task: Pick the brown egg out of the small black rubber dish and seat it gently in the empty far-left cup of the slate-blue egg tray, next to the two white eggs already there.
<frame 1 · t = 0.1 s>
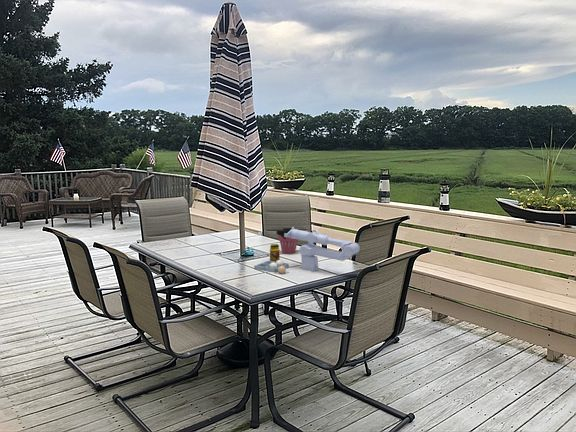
hand: (280, 231, 288), 22 cm above the table, tool horizontal, fingers open, 7 cm apart
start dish: (281, 274, 271), on the table
egg tray: (271, 269, 282), on the table
white egg left: (273, 270, 277), point 1 cm above the table, touching egg tray
brown egg: (281, 273, 271), resting on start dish
condiment: (273, 263, 297), on the table
plant pot: (288, 252, 326), on the table
white egg near: (279, 267, 283), point 1 cm above the table, touching egg tray
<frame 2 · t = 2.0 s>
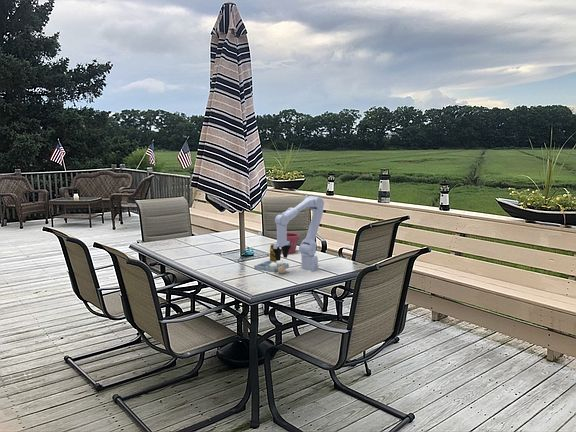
hand: (281, 259, 270), 9 cm above the table, tool pointing down, fingers open, 7 cm apart
nothing on the table moved.
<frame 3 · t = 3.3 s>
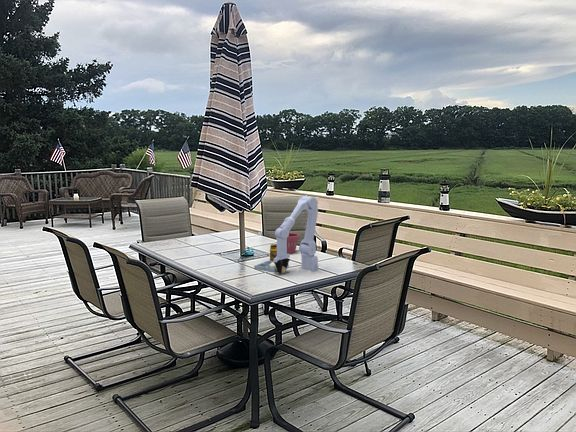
hand: (281, 271, 271), 2 cm above the table, tool pointing down, fingers closed on brown egg, 5 cm apart
brown egg: (281, 273, 271), resting on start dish, touching gripper
everything else where it was.
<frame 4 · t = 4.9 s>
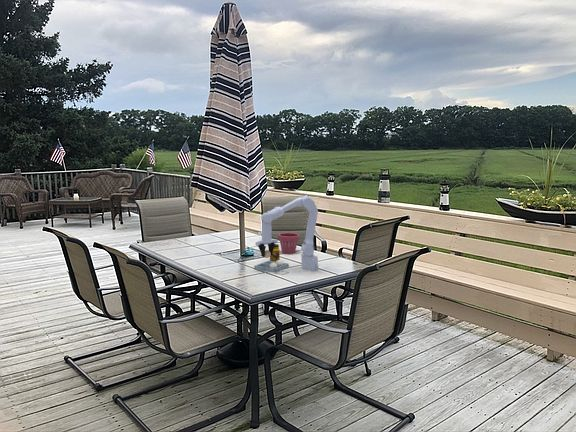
hand: (266, 256, 277), 9 cm above the table, tool pointing down, fingers closed on brown egg, 5 cm apart
brown egg: (266, 257, 277), point 8 cm above the table, touching gripper
everything else where it was.
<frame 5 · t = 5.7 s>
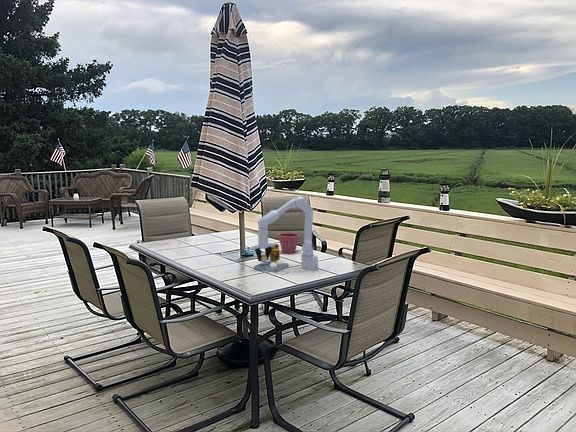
hand: (263, 260, 280), 6 cm above the table, tool pointing down, fingers closed on brown egg, 5 cm apart
brown egg: (263, 262, 280), point 5 cm above the table, touching gripper
everything else where it was.
when the fingers open (4 cm above the table, at t = 6.5 s): brown egg drops 2 cm, resting on egg tray.
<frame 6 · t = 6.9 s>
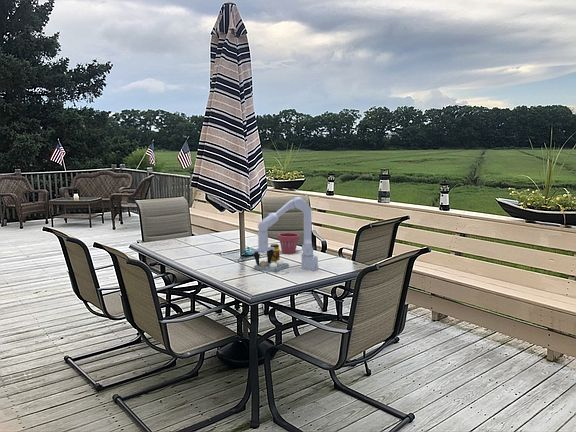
hand: (263, 263, 280), 4 cm above the table, tool pointing down, fingers open, 7 cm apart
brown egg: (263, 268, 280), point 1 cm above the table, tilted 8°, touching egg tray
everything else where it was.
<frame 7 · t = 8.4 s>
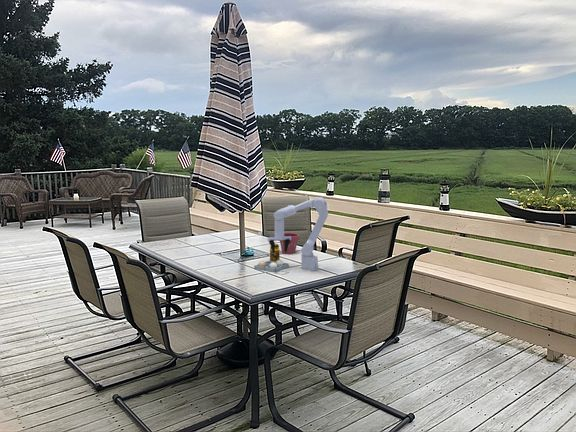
hand: (279, 252, 283), 10 cm above the table, tool pointing down, fingers open, 7 cm apart
brown egg: (263, 268, 280), point 1 cm above the table, tilted 23°, touching egg tray
everything else where it was.
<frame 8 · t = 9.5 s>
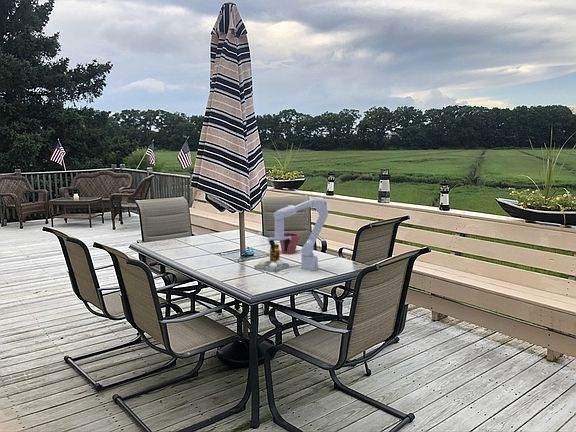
hand: (279, 252, 283), 10 cm above the table, tool pointing down, fingers open, 7 cm apart
nothing on the table moved.
at the end: brown egg 0.0 cm from the target spot on the egg tray, point 1.2 cm above the egg tray's base; the gripper is holding nothing; white egg left moved 0.0 cm from its start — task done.
